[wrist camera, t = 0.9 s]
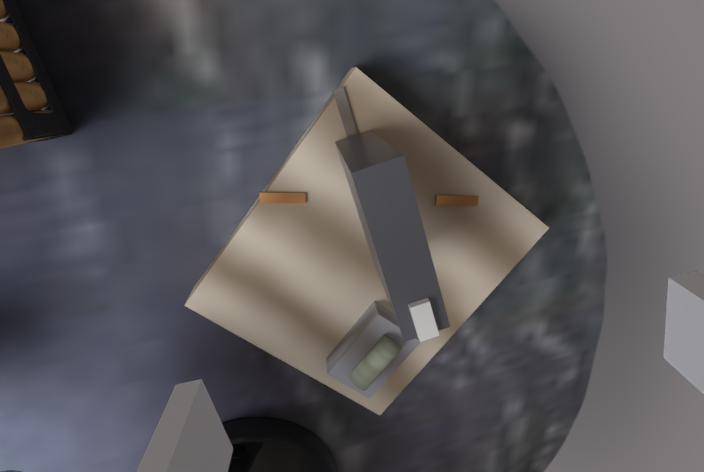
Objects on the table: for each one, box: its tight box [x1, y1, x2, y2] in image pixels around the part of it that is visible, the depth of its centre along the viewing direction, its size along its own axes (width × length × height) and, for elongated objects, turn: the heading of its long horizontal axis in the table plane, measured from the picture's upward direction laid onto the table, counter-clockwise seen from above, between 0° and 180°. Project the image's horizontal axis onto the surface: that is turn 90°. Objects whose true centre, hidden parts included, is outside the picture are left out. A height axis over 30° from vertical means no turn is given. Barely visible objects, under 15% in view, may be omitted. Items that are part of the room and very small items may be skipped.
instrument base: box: [184, 67, 549, 415], centre depth 32 cm, size 20×18×6 cm
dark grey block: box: [335, 130, 450, 342], centre depth 25 cm, size 9×2×10 cm, turn 17°
